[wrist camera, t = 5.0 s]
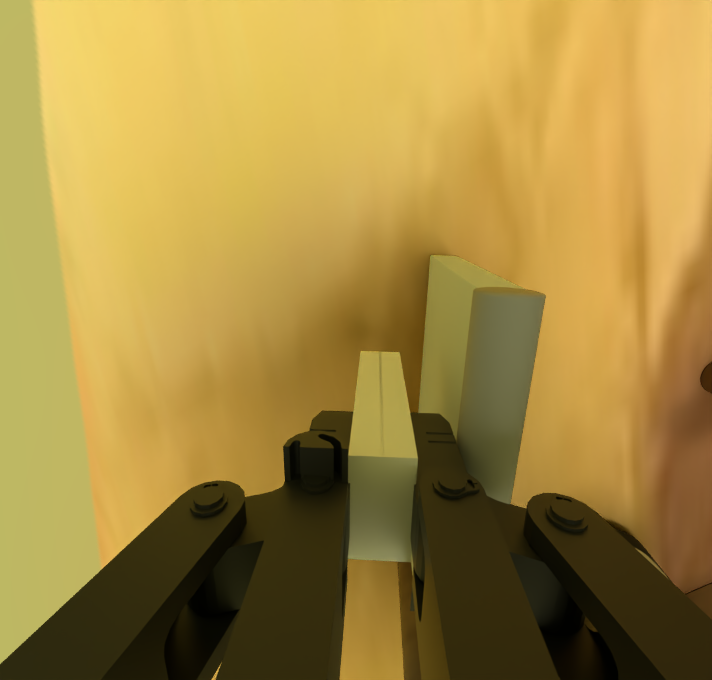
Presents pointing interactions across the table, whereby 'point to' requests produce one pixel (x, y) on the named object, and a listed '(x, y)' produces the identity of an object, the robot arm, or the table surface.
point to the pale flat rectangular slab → (480, 365)
